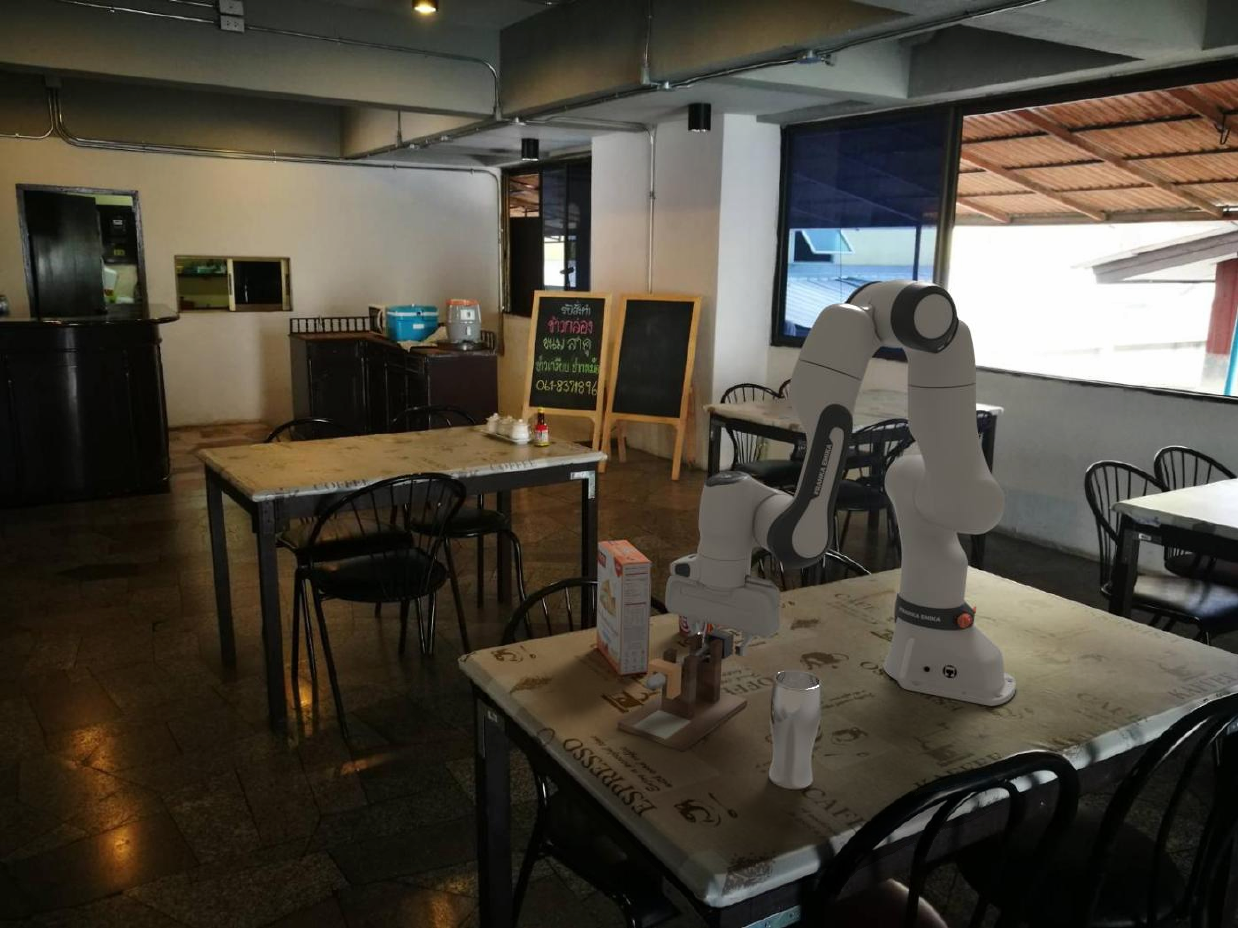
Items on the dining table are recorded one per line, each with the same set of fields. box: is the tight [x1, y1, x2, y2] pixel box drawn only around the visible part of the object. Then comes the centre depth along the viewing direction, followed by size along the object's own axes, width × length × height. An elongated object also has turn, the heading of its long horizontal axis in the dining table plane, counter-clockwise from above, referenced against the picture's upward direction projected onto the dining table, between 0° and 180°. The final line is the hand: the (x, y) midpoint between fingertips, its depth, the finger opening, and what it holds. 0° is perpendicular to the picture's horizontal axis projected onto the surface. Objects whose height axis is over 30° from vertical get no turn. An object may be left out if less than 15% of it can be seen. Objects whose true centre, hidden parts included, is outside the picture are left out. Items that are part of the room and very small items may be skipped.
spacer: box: [646, 657, 682, 699], centre depth 146 cm, size 5×2×5 cm, turn 54°
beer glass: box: [768, 669, 822, 790], centre depth 133 cm, size 7×7×15 cm
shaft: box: [645, 628, 735, 692], centre depth 152 cm, size 4×22×4 cm, turn 145°
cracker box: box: [596, 539, 653, 677], centre depth 172 cm, size 14×6×21 cm, turn 18°
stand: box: [617, 633, 748, 752], centre depth 152 cm, size 12×20×11 cm, turn 144°
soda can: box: [678, 615, 715, 639], centre depth 187 cm, size 7×7×12 cm
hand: (719, 648), depth 160 cm, fingers open, 7 cm apart
